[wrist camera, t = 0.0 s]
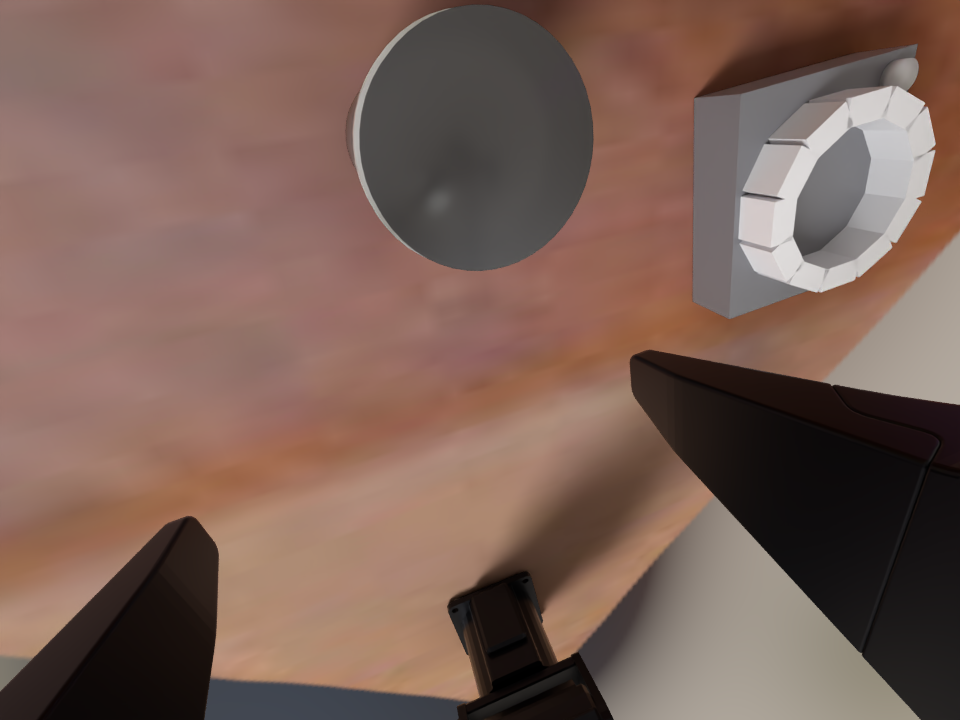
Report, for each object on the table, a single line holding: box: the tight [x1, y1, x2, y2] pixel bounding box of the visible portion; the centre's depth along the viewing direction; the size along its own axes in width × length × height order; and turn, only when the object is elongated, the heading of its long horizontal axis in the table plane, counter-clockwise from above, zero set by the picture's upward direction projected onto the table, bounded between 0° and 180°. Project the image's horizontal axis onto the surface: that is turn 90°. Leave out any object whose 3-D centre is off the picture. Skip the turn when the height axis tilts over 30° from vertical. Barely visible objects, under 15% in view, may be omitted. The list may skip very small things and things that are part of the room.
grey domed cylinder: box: [346, 5, 593, 271], centre depth 15 cm, size 5×5×12 cm
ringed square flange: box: [693, 44, 936, 319], centre depth 24 cm, size 11×10×5 cm
